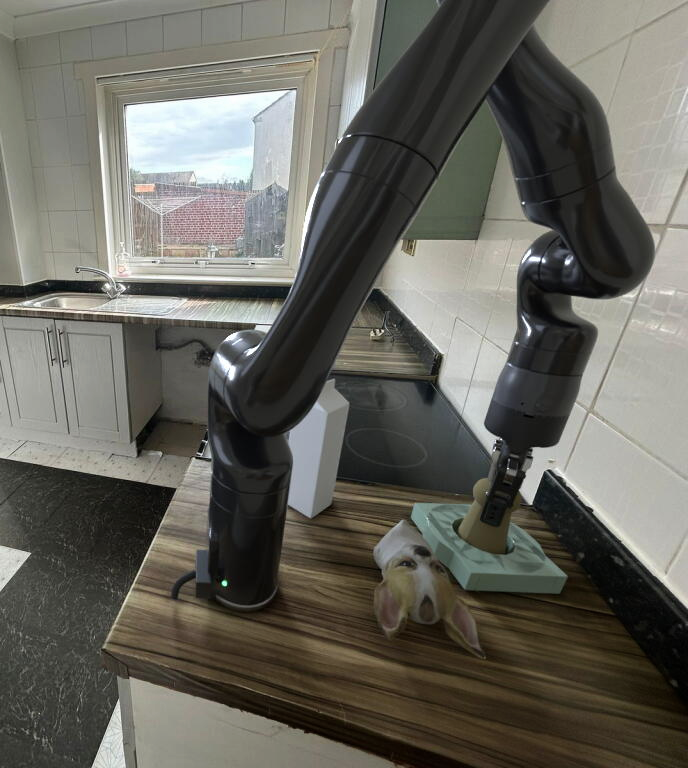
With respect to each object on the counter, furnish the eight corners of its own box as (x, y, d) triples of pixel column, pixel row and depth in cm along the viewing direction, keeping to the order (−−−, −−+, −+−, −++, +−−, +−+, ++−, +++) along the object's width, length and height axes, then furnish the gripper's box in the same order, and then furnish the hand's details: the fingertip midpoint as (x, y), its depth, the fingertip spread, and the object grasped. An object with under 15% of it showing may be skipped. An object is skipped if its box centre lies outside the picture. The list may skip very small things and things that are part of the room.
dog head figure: (451, 515, 52) (511, 623, 39) (434, 563, 56) (484, 677, 43) (363, 504, 54) (392, 602, 41) (352, 551, 58) (376, 655, 45)
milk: (331, 504, 68) (354, 384, 60) (310, 519, 65) (332, 393, 56) (301, 487, 72) (319, 372, 64) (279, 500, 69) (296, 380, 61)
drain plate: (458, 590, 52) (464, 572, 51) (405, 517, 65) (409, 502, 64) (566, 594, 52) (575, 576, 51) (491, 520, 65) (497, 505, 64)
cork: (486, 534, 61) (509, 473, 57) (514, 566, 55) (541, 499, 51) (444, 531, 61) (464, 470, 57) (467, 562, 56) (490, 496, 52)
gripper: (496, 378, 57) (464, 479, 63) (489, 411, 47) (451, 528, 53) (567, 391, 53) (525, 498, 59) (577, 431, 42) (524, 555, 48)
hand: (490, 511), depth 56 cm, fingers closed on cork, 5 cm apart
